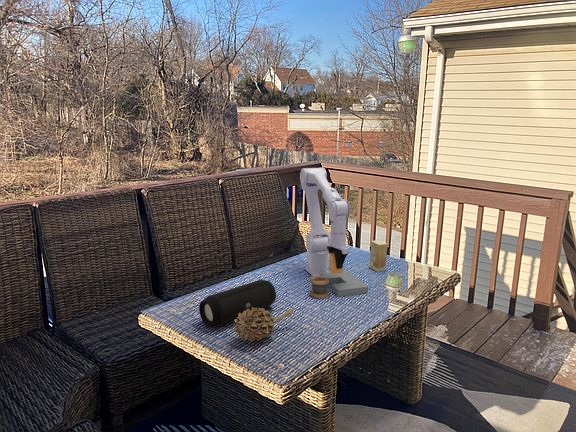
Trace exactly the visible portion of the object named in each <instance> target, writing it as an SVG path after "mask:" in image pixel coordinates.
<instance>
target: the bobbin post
mask: <svg viewBox="0 0 576 432" xmlns="http://www.w3.org/2000/svg"><path fill="white" fill-rule="evenodd" d="M309 283H310V284H311V289H310V290H309V296H310V297H312V298H315V299H316V298H317V299H326V298H327V297H329V295H330V292H329V289H328V285H329V284H328V283H329V278H328V277H325V276H311V277H310V278H309Z"/></svg>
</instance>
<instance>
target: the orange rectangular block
mask: <svg viewBox="0 0 576 432" xmlns="http://www.w3.org/2000/svg"><path fill="white" fill-rule="evenodd" d="M343 271H344V266H343V267H342V268H341V269H337V268H336V260H335V255H334V253H328V272H331V273H332V274H338V273H343Z"/></svg>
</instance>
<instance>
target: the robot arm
mask: <svg viewBox="0 0 576 432" xmlns="http://www.w3.org/2000/svg"><path fill="white" fill-rule="evenodd" d="M327 177H328V174H327V171H326V168H325V167H323V166H322V167H311V168H310V167H308V168H305V167H303V168H301V170H300V173H299V180H300V187H301V190H303V191H304V192H305V198H306V204H307V205H306V206H307V210H308V217H309V221H310V222H309V223H310V229H311V230H310V231H309V232H307V234H306V236H305V240H306V241H305V247H306V250H307V251H308V253H307V267H305V270H306V271H307V273H308V274H310V276H311V277H313V276H320V273H329V272H330V271H329V270H328V263H329V253H334V255H335V260H336V268H337V269H341V268H342V267H343V268H344V263H345V260H346V258H347V256H348V255H349V253H350V252H349V248H348V246H347V243H346V237H347V233H346V232H347V216H348V215H349V214H350V213H351V205H350V203H349V200H348V199H344V198H342V197H341V195H340V194H339V193H338V191H337V190H336V188H334V187H331V185H330V183H329V181H328V179H327ZM319 190H321V192H322V198H323V200H324V201H325V203H326V205H327V209H328V213H329V221H330V231H329V230H327V229H326V228H324V224H323V219H322V212H321V207H320V200H319V199H320V198H319V195H318V191H319Z"/></svg>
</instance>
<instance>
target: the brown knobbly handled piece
mask: <svg viewBox="0 0 576 432" xmlns="http://www.w3.org/2000/svg"><path fill="white" fill-rule="evenodd" d="M265 309H266V308H265ZM265 309H263V308H262V309H260V308H259V309H258V310H257V308H253V307H252V309H251V310H249V309H247V310H246V311H244V312H243V313H239V317H237V319H235V320H233V321H234V322H235V323H234V324H233V326H235V327H236V329H235V330H234V333H236V336H239V337H240V338H241V339H243V341H245V340H247V341H248V342H253V341H255V340H256V341H257V342H258V341H261V340H262V339H265V338H266V337H268V336H269V333H270V334H273V333H274V331H275V327H274V325H275V324H276V323H277V322H279V321H280V320H283V319H284V318H285V319H286V318H287V317H288V316H290V315H293V314H295V312H294V310H295V308H293V307H292V308H290V307H288V310H287V311H286V312H284V313H282V314H280V315H277V317H273V316H272V314H271V312H270V311H268V310H265Z"/></svg>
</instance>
